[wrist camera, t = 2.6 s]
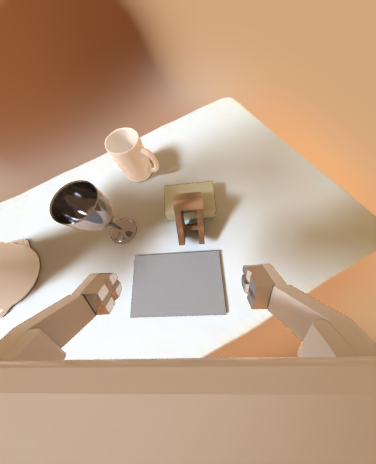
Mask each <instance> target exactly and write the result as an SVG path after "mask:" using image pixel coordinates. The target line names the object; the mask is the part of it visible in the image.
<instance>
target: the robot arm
mask: <svg viewBox="0 0 376 464" xmlns="http://www.w3.org/2000/svg"><path fill="white" fill-rule="evenodd" d="M39 269H40V262H39V258H38V255H37V254H36V252H35V251H33V250H32V249H31V248H30V245H29V242H28V240H25V239H19V240H15V241H12V242H8V243H5V242H0V318H1V317H3V316H4V315H5V314H6V313H7V311H8V310H9V309H10V308H11V307H12V306H13V305H14V304H15V303H17V302H18V301H20V300H21V299H22V298H23V297H25V296H26V295H27V293H28V292H29V291H30V290H31V288H32V287H33V285H34V284H35V282H36V280H37V277H38V274H39ZM243 273H244V274H243V275H242V286H243V289H244V292H246V293H247V294H248V296H247V299H248V301H249V304H250V306H251V309H268V311H269V312H271V313H272V314H273V315H274V316H275V317H276V318H277V319H278V320H279V321H280V322H282V324H284V325H285V326H286V327H287V328H288V329H289V330H290V331H291V332H292V333H293V334H294V335H295V336H297V337H298V338H299V339H300V340H301V341H302V344H301V345H300V347H299V349H298V352H297V354H298V356H299V357H272V358H271V357H268V358H180V359H94V360H64V358H65V357H66V353H65V352H64V351H63V350H62V349H61V348H62V347H63V346H64V345H65V344H66V343H67V342H68V341H70V340H71V339H72V338H73V337H74V336H75V335H76V334H77V333H78V332H79V331H80V330H81V329H82V328H83V327H84V326H86V325H87V324H88V323H89V322H90V321H91V320H92V319H93V318H94V317H95V316H96V315H103V314H110V312H111V311H112V309H113V307H114V305H115V300H116V299H117V298H118V297H119V296H120V294H121V290H122V286H121V283H120V282H119V281H118V280H117V278H118V276H117V274H116V273H99V274H91V275H89V276H88V277H87V278H86V279H85V280H84V282H83V283H82V284H81V285H80V286H79V287H78V288H77V289H76V290H75V291H74V292H73V293H72V295H68V296H66V297H65V298H63V299H61V300H60V301H58V302H56V303H55V304H53V305H51V306H50V307H48V308H46V309H45V310H43V311H41V312H40V313H38V314H36V315H35V316H33V317H31V318H30V319H28V320H26V321H25V322H23V323H21V324H20V325H18V326H16V327H15V328H13V329H12V330H11V331H10V332H9V333H8V334H6V335H5V336H4V337H3V338H2V339H1V340H0V464H376V343H375V342H374V341H373V340H372V339H371V338H370V337H369V336H368V335H367V334H366V333H365V332H364V331H363V330H362V329H361V328H360V327H359V326H358V325H357V324H356V323H355V322H354V321H353V320H352V319H350V318H349V317H347V316H345V315H343V314H341V313H340V312H338V311H336V310H334V309H333V308H331V307H329V306H327V305H325V304H323V303H322V302H320V301H318V300H316V299H315V298H313V297H311V296H309V295H308V294H306V293H304V292H302V291H300V290H299V289H297V288H295V287H293V286H292V285H287V284H286V282H285V281H284V280H283V279H282V277H281V276H280V275H279V274H278V272H277V271H276V270H275V269H274V267H273V266H272V265H271V264H261V265H260V264H259V265H244V266H243Z"/></svg>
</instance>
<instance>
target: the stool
mask: <svg viewBox="0 0 376 464" xmlns="http://www.w3.org/2000/svg"><path fill="white" fill-rule="evenodd" d="M172 202H173V208H174V212H175V219H176V226H177V233H178V239H179V245H185V237H186V232H185V231H187V230H198V238H199V244H205V243H204V221H203V198H202V194H201V192H191V193H180V194H176V195H175V197H174V199H173V201H172ZM195 209H196V210H197V224H188V225H185V223H184V215H183V210H195Z"/></svg>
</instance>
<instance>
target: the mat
mask: <svg viewBox="0 0 376 464" xmlns="http://www.w3.org/2000/svg"><path fill="white" fill-rule="evenodd" d="M199 315H226V307H225V299H224V290H223V282H222V274H221V265H220V257H219V251H205V252H189V253H172V254H156V255H140V256H135V261H134V275H133V288H132V302H131V315H130V318H134V317H167V316H199Z"/></svg>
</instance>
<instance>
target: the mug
mask: <svg viewBox="0 0 376 464" xmlns="http://www.w3.org/2000/svg"><path fill="white" fill-rule="evenodd" d="M105 148H106V150H107V151H108V152H109V154H110V155H111V157H112V158H113V159H114V161H115V162H116V163H117V165H118V166H119V167H120V169H121V170H122V171H123V173H124V174H125V175H126V177H127V178H128V179H129V180H131V181H133V182H142V181H145V180H146V179H148V178H149V177H150V175H151V173H152V172H156V171H158V169H159V162H158V160H157V158H156V157H155V155H154V154H153V153H152V152H150V151H149V150H147V149H145V148H144V146H143V144H142V142H141V140H140V137H139V135H138V133H137V132H136V131H135V130H134V129H132V128H120V129H117V130H115V131H113V132H112V133H110V134H109V135H108V137H107V138H106V141H105ZM148 157H149V158H150V159H151V160H152V161H153V163H154V167H152V165H151V162H150V160H149V158H148Z"/></svg>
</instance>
